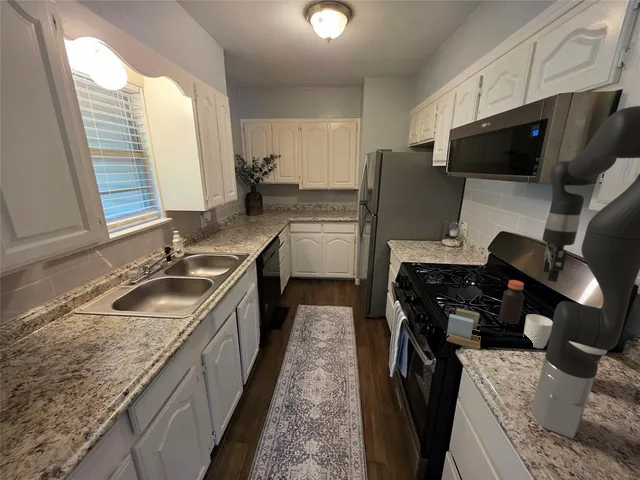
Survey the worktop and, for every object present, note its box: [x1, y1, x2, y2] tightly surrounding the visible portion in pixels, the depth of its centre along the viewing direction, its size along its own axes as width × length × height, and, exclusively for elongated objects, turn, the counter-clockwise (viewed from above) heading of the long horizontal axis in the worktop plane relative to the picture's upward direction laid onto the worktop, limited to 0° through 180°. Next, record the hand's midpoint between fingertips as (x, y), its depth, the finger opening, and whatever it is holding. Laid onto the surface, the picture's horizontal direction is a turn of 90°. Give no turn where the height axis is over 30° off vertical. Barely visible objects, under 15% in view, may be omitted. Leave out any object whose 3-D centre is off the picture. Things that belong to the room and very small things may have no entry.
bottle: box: [498, 279, 525, 325], centre depth 108 cm, size 7×7×20 cm
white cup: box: [523, 313, 553, 349], centre depth 98 cm, size 8×8×10 cm
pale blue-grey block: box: [446, 313, 474, 340], centre depth 100 cm, size 2×8×9 cm, turn 58°
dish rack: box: [446, 307, 481, 352], centre depth 103 cm, size 14×11×9 cm
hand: (549, 276), depth 85 cm, fingers open, 8 cm apart
